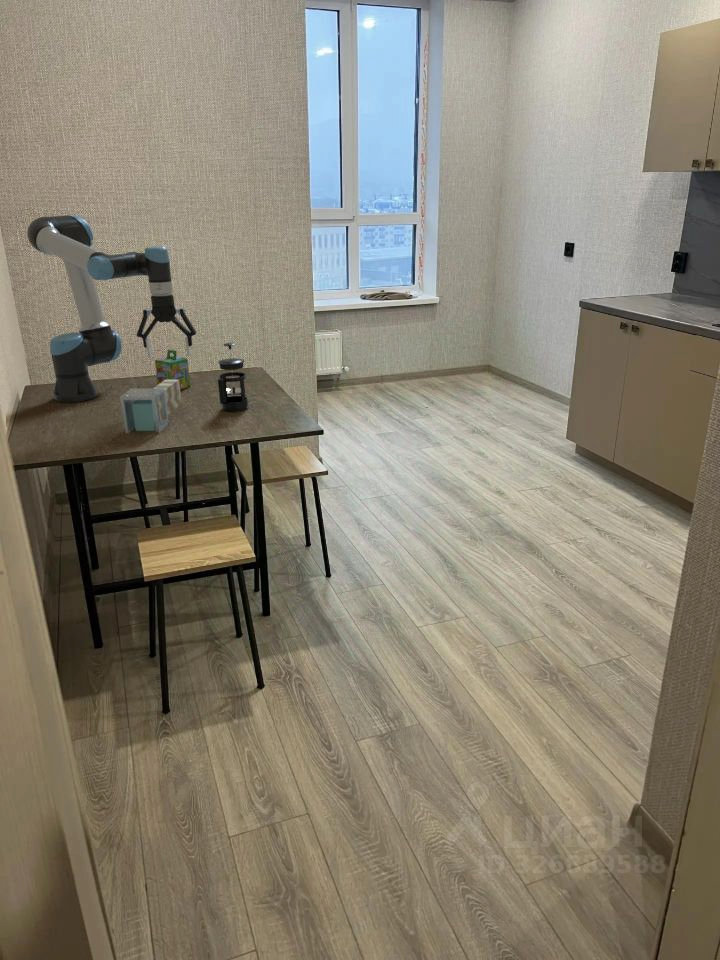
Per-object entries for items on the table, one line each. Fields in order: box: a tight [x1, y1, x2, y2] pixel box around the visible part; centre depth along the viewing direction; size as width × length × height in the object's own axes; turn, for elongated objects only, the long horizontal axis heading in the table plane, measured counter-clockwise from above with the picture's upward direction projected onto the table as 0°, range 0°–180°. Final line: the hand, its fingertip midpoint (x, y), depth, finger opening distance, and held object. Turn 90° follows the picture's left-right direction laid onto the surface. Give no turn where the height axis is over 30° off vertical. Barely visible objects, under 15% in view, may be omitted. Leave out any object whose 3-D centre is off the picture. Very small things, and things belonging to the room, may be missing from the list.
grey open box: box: [119, 387, 169, 434], centre depth 226 cm, size 10×11×12 cm
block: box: [132, 400, 161, 432], centre depth 227 cm, size 6×6×9 cm
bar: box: [153, 379, 183, 422], centre depth 244 cm, size 22×5×9 cm, turn 175°
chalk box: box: [154, 349, 191, 391], centre depth 273 cm, size 9×9×15 cm
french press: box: [217, 342, 250, 413], centre depth 243 cm, size 12×9×23 cm
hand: (169, 356), depth 248 cm, fingers open, 13 cm apart
